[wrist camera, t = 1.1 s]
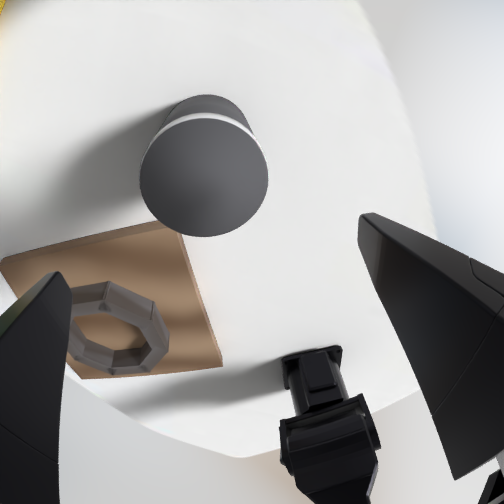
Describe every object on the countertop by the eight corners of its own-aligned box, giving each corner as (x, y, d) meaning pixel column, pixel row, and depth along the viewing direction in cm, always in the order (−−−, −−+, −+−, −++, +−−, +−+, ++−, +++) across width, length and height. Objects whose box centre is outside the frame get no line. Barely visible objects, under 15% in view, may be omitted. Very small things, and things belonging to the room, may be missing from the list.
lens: (255, 168, 20) (275, 226, 14) (172, 184, 20) (158, 247, 14) (243, 86, 17) (261, 107, 11) (152, 104, 17) (123, 135, 11)
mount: (222, 356, 31) (224, 383, 28) (83, 370, 30) (78, 394, 28) (176, 216, 21) (172, 243, 18) (3, 257, 21) (-13, 282, 18)
